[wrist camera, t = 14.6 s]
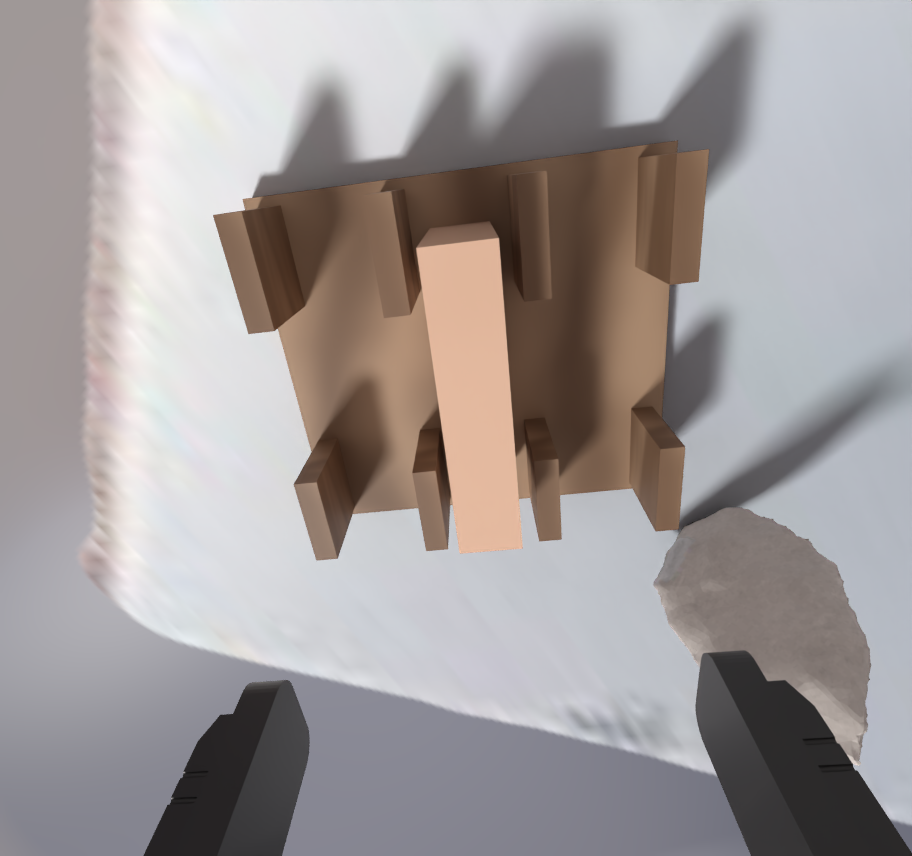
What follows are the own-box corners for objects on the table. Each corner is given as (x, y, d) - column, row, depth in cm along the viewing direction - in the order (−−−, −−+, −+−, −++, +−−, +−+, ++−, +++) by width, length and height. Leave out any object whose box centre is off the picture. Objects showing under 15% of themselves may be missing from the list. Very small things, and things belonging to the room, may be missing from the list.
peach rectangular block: (489, 220, 26) (498, 238, 19) (509, 464, 32) (522, 548, 25) (429, 228, 26) (416, 247, 19) (461, 468, 32) (459, 553, 25)
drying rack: (668, 142, 25) (726, 132, 20) (651, 475, 33) (689, 535, 28) (251, 198, 27) (194, 203, 21) (333, 505, 35) (308, 568, 29)
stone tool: (749, 472, 33) (943, 674, 20) (775, 502, 34) (978, 714, 21) (631, 552, 36) (731, 776, 23) (659, 577, 37) (770, 807, 24)
